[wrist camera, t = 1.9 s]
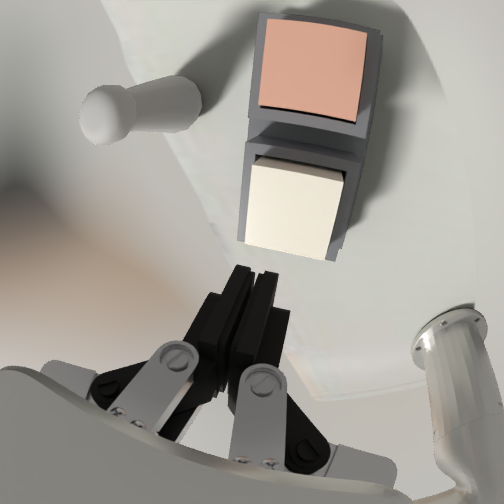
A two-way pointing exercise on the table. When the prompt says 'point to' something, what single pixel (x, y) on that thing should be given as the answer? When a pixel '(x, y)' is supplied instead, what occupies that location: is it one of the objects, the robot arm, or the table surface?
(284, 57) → the terracotta key
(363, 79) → the key panel
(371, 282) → the table surface
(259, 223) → the ivory key
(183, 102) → the salt shaker
